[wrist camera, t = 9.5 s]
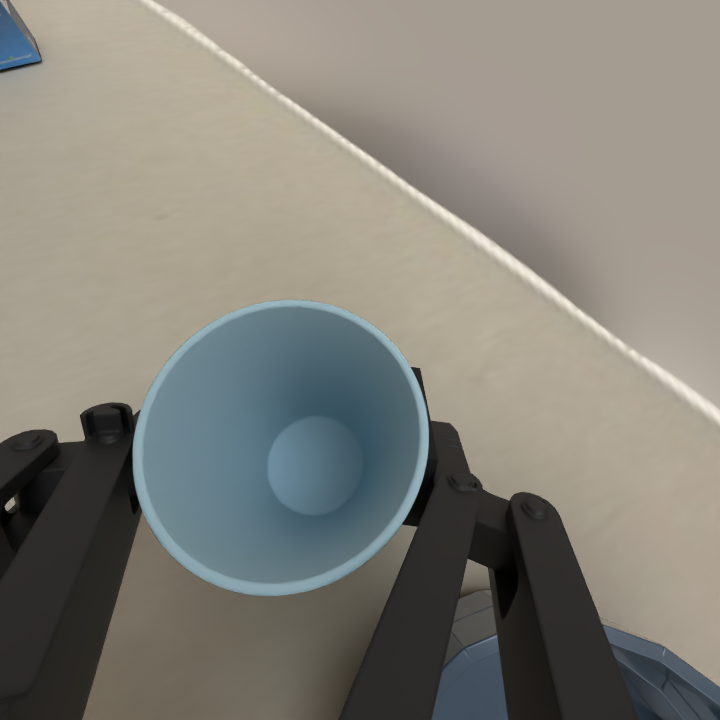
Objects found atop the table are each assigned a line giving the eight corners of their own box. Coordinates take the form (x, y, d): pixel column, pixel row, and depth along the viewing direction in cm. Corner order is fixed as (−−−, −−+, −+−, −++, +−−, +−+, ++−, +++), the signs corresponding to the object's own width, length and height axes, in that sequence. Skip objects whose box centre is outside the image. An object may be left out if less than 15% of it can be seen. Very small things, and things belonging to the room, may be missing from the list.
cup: (403, 413, 20) (451, 331, 11) (371, 564, 17) (395, 642, 8) (274, 380, 21) (206, 274, 11) (223, 521, 18) (73, 545, 8)
